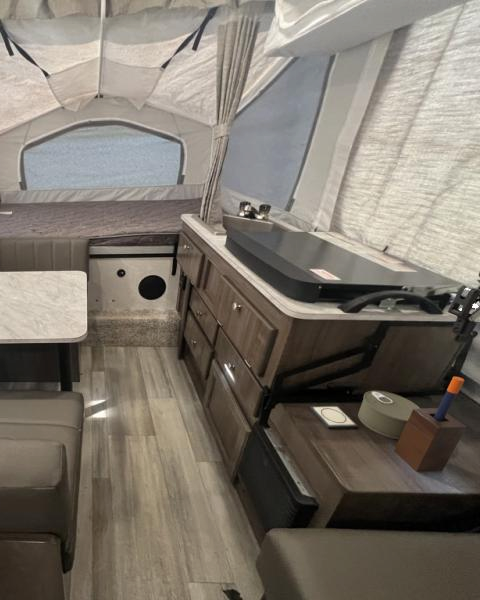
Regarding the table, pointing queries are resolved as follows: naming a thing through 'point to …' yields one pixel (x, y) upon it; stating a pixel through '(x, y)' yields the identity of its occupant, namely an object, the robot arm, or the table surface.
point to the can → (385, 413)
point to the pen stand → (428, 440)
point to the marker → (448, 398)
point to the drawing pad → (333, 417)
